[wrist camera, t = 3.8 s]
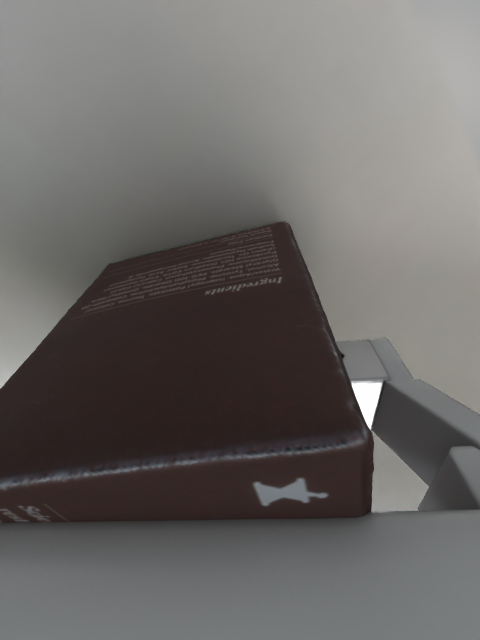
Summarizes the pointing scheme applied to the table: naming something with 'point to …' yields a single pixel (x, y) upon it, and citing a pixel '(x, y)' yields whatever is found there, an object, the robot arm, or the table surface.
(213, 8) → the table surface
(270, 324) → the box
